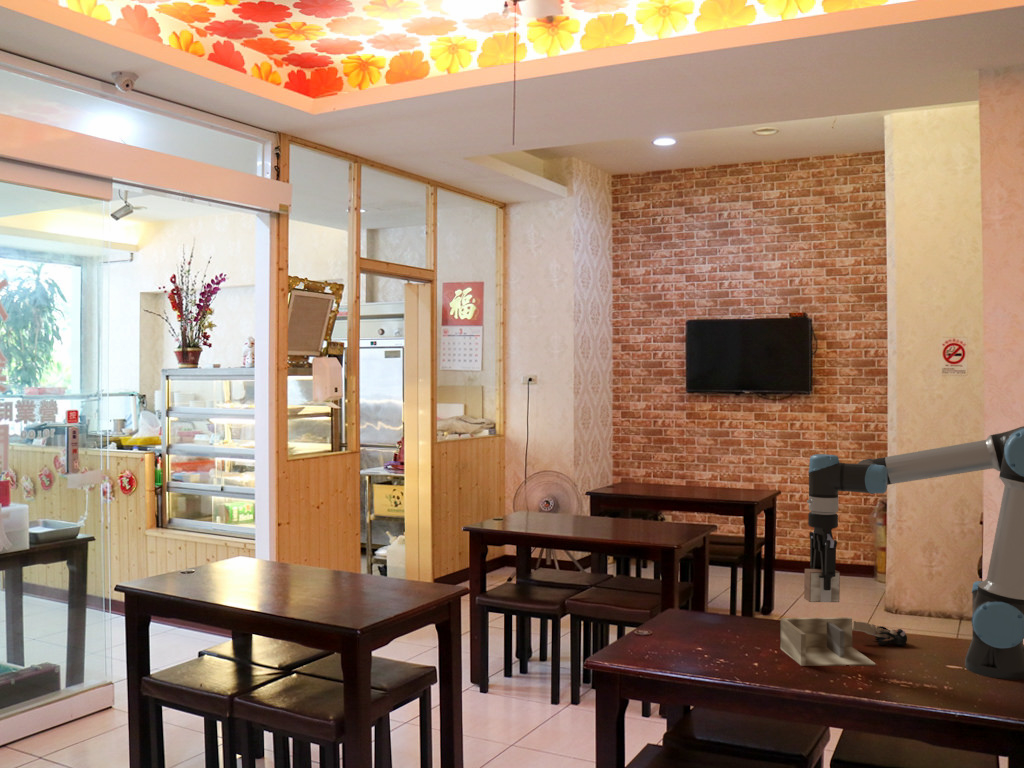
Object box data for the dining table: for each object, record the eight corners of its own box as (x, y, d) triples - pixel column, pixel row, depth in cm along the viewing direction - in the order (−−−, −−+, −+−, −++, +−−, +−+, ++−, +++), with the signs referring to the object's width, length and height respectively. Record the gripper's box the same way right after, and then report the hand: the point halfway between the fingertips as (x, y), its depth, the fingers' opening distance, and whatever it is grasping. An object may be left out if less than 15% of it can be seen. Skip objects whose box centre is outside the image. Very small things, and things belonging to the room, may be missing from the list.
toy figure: (850, 621, 266) (904, 632, 262) (848, 642, 263) (902, 654, 260) (855, 616, 259) (910, 627, 256) (853, 637, 257) (909, 649, 253)
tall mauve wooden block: (833, 598, 244) (833, 569, 244) (839, 602, 239) (840, 572, 239) (804, 598, 243) (804, 568, 243) (809, 602, 239) (810, 572, 239)
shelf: (850, 649, 254) (850, 617, 254) (875, 667, 238) (875, 633, 238) (780, 650, 253) (780, 618, 253) (801, 668, 237) (801, 634, 237)
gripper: (798, 507, 250) (797, 591, 250) (821, 517, 232) (820, 607, 233) (824, 507, 250) (823, 591, 250) (850, 517, 233) (848, 607, 233)
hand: (822, 599), depth 241 cm, fingers closed on tall mauve wooden block, 4 cm apart
